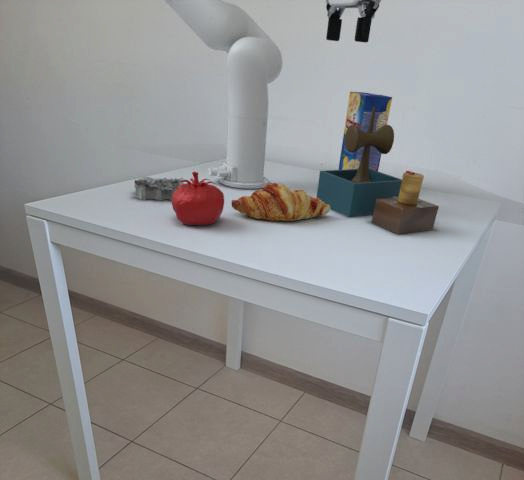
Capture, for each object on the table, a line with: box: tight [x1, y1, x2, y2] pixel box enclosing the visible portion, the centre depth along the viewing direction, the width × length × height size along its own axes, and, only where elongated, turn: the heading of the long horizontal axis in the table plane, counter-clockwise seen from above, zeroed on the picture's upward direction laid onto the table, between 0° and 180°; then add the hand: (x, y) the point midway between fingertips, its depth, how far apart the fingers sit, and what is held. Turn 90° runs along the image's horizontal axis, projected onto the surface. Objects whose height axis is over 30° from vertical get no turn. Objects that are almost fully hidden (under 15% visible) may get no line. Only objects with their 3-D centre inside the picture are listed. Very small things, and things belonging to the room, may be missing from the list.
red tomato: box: [171, 171, 225, 226], centre depth 92 cm, size 10×10×9 cm
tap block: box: [371, 196, 440, 235], centre depth 101 cm, size 10×8×5 cm
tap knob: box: [398, 170, 425, 205], centre depth 98 cm, size 4×4×6 cm
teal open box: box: [316, 169, 402, 218], centre depth 111 cm, size 15×13×7 cm
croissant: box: [230, 182, 331, 222], centre depth 100 cm, size 21×10×8 cm, turn 103°
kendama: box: [345, 107, 395, 183], centre depth 107 cm, size 6×10×20 cm, turn 110°
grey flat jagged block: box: [133, 176, 184, 201], centre depth 107 cm, size 11×8×4 cm
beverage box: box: [337, 91, 393, 172], centre depth 126 cm, size 7×11×22 cm, turn 11°
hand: (346, 41), depth 102 cm, fingers open, 9 cm apart
